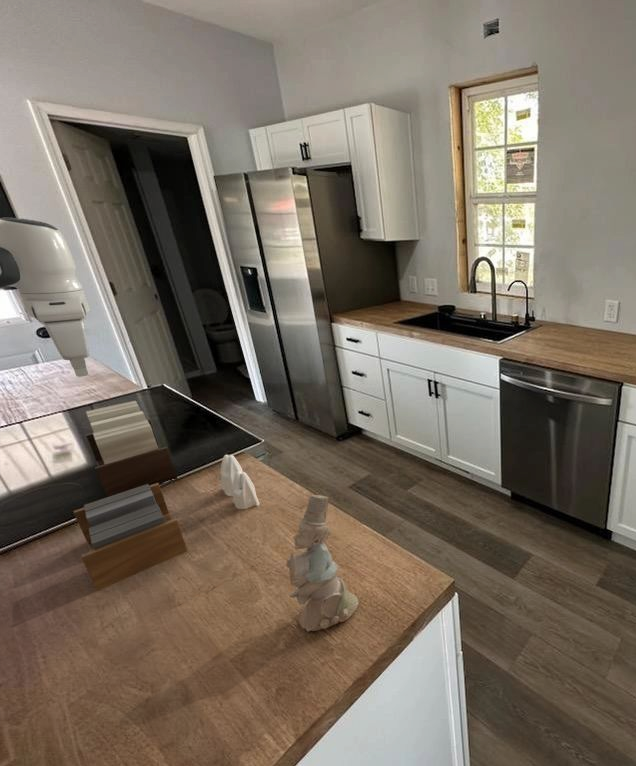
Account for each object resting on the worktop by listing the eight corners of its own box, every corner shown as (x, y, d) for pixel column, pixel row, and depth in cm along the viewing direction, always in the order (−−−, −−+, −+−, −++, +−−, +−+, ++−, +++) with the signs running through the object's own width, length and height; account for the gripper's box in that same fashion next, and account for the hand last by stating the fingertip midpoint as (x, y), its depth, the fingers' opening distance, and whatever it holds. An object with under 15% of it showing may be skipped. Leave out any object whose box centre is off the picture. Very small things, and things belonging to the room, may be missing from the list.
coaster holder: (189, 557, 75) (175, 515, 72) (100, 597, 67) (79, 552, 63) (170, 516, 85) (156, 478, 82) (90, 547, 77) (71, 506, 73)
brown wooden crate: (177, 478, 97) (159, 424, 92) (109, 502, 89) (85, 443, 84) (159, 447, 110) (142, 397, 105) (97, 464, 102) (76, 412, 97)
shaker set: (222, 494, 92) (210, 452, 88) (243, 486, 95) (232, 444, 91) (241, 519, 85) (228, 473, 81) (263, 509, 88) (252, 465, 84)
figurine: (345, 580, 71) (329, 483, 64) (365, 612, 65) (350, 510, 58) (289, 609, 66) (264, 506, 58) (306, 647, 60) (281, 539, 52)
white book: (159, 460, 102) (143, 413, 97) (110, 475, 95) (91, 425, 91) (158, 457, 103) (142, 410, 98) (109, 472, 97) (90, 422, 92)
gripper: (32, 299, 87) (56, 361, 92) (35, 315, 74) (62, 386, 79) (75, 296, 91) (95, 356, 96) (84, 311, 79) (106, 378, 84)
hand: (80, 369), depth 88 cm, fingers open, 8 cm apart
